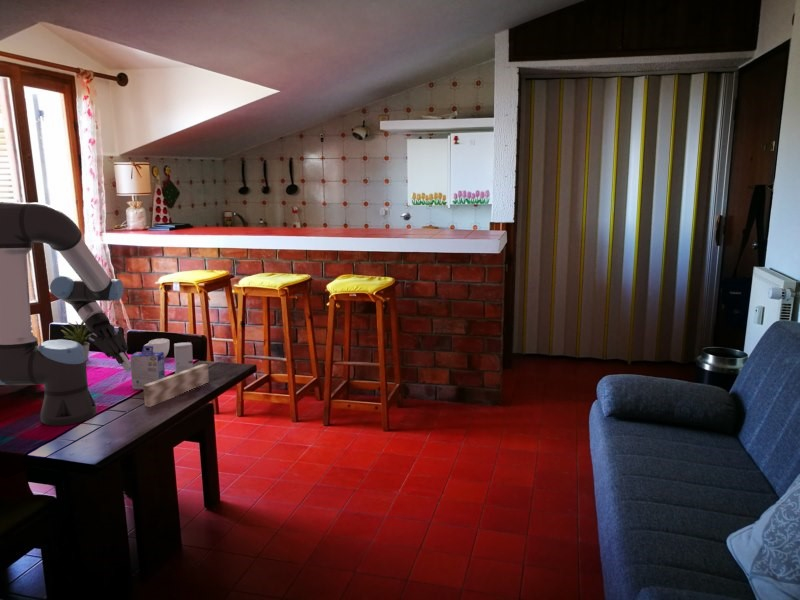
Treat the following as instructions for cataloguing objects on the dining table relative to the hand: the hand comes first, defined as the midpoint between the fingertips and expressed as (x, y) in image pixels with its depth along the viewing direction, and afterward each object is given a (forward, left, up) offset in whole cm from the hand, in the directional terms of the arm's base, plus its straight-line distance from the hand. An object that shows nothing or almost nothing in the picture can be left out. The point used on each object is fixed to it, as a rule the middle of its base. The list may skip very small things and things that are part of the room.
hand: (129, 369), depth 216 cm
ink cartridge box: (0, -10, -5) cm, 11 cm away
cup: (+26, +16, -5) cm, 31 cm away
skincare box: (+15, -11, -5) cm, 19 cm away
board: (0, -24, -5) cm, 24 cm away
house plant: (+11, +40, -5) cm, 42 cm away
